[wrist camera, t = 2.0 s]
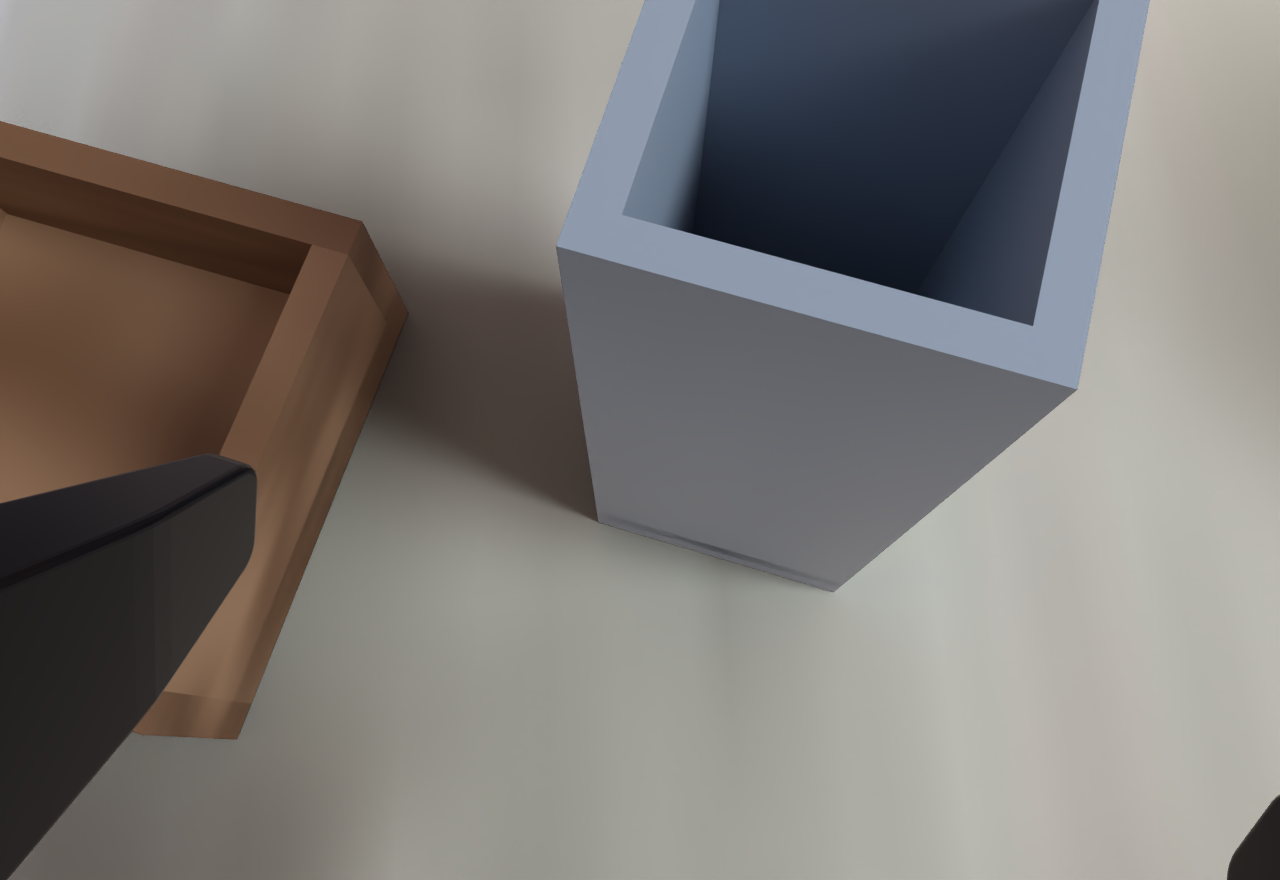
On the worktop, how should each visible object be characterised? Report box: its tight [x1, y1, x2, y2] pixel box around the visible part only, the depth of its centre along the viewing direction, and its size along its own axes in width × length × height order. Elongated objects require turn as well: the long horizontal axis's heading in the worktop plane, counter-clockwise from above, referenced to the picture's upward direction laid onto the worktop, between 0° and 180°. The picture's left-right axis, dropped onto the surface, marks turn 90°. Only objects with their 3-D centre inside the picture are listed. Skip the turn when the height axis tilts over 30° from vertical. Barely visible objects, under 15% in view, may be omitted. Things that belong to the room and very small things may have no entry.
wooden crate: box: [0, 121, 408, 739], centre depth 20 cm, size 9×9×4 cm
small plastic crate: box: [556, 0, 1150, 592], centre depth 16 cm, size 5×5×12 cm
